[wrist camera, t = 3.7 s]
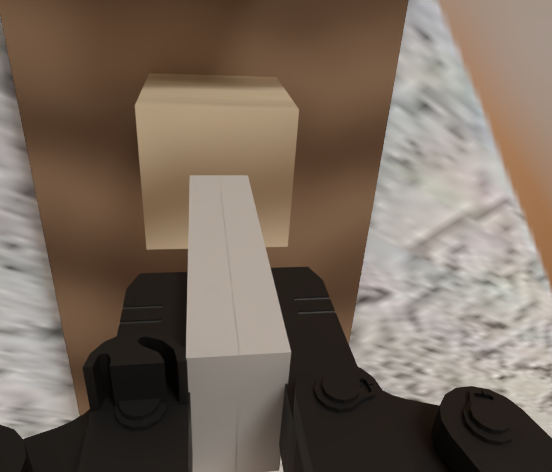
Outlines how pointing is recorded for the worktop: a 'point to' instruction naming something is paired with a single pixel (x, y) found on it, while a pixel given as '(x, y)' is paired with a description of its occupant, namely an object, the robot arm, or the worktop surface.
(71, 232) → the walnut board
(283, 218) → the plain beech block
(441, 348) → the worktop surface
